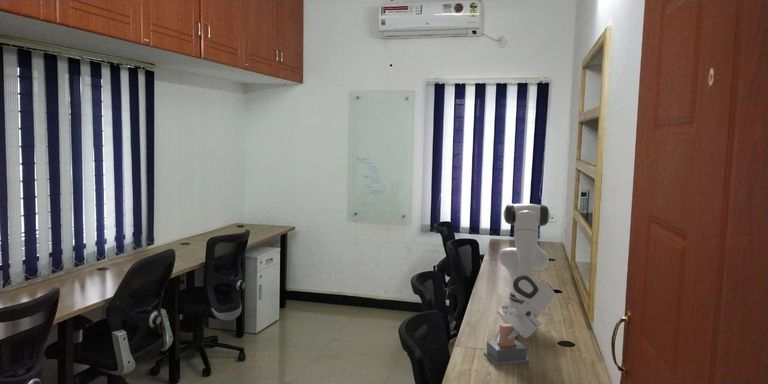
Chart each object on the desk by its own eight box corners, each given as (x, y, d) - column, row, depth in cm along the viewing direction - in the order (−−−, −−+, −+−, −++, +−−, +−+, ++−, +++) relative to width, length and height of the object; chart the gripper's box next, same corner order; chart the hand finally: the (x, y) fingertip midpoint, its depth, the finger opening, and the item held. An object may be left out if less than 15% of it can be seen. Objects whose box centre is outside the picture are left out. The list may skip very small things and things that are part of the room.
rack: (483, 353, 241) (484, 340, 240) (516, 351, 244) (516, 338, 244) (495, 364, 229) (495, 351, 229) (529, 362, 233) (529, 348, 232)
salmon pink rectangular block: (498, 348, 237) (499, 324, 236) (511, 347, 238) (512, 323, 237) (501, 350, 234) (502, 326, 233) (514, 349, 236) (515, 325, 234)
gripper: (511, 302, 246) (491, 323, 245) (534, 316, 226) (511, 340, 225) (520, 310, 248) (499, 332, 246) (543, 326, 228) (521, 349, 227)
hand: (505, 336), depth 236 cm, fingers closed on salmon pink rectangular block, 3 cm apart
